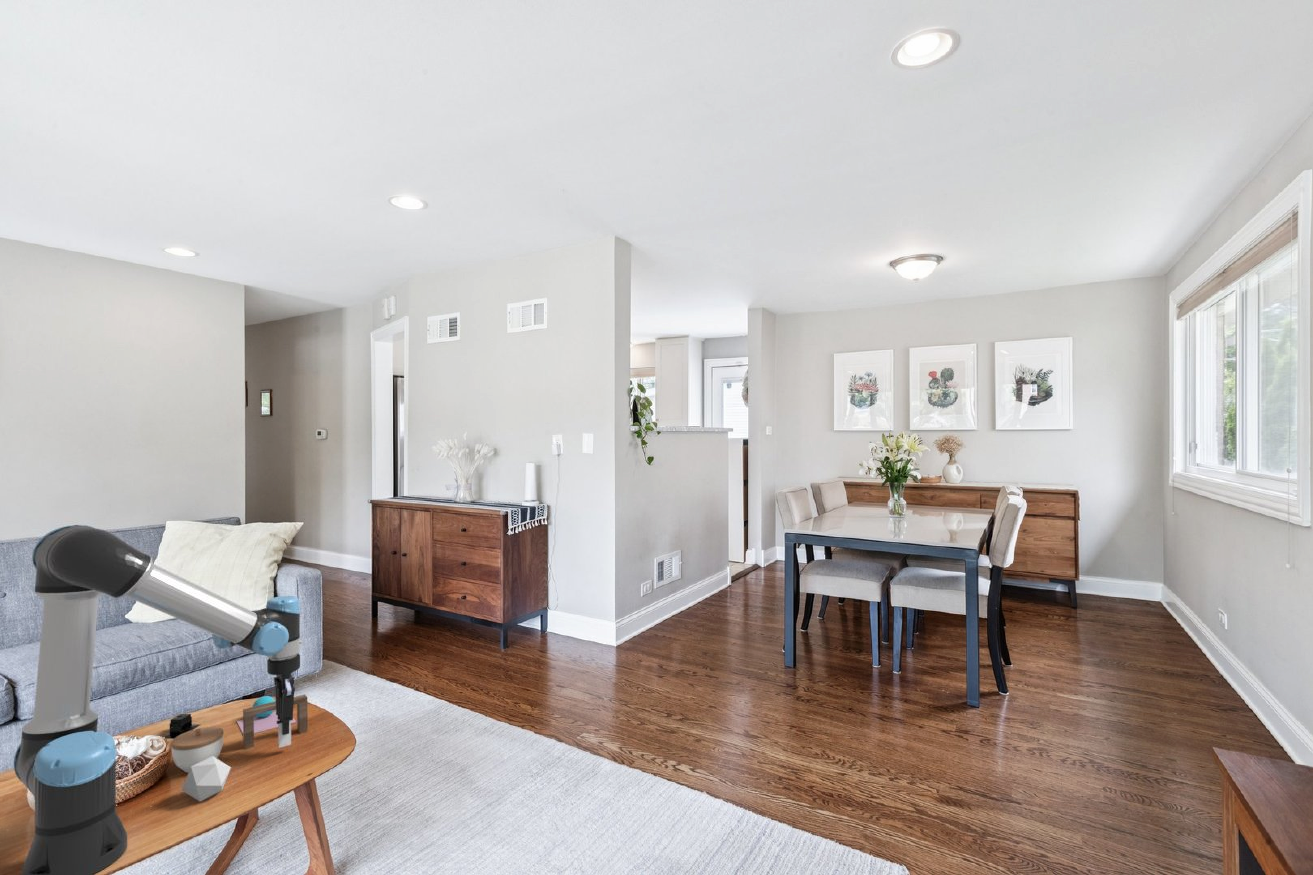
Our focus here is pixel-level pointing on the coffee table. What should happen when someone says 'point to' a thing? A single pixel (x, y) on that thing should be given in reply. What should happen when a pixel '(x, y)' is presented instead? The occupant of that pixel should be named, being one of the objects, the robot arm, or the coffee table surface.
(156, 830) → the coffee table surface
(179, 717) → the black block on base
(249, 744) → the bridge
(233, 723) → the coffee table surface
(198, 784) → the die
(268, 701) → the ball
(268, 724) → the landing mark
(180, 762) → the lidded jar
